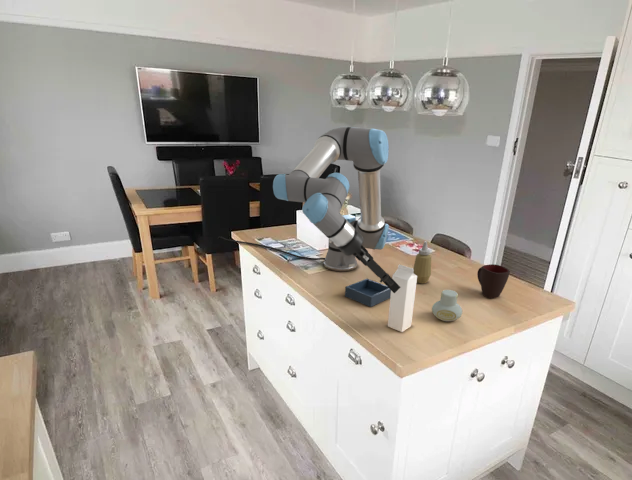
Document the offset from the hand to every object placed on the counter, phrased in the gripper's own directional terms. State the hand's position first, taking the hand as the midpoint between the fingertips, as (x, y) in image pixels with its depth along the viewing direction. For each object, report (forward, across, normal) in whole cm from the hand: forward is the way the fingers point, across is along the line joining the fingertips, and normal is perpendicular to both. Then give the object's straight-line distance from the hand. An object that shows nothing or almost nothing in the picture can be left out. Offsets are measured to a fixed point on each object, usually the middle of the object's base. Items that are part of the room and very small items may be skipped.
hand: (388, 281), depth 134 cm
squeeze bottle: (+35, -36, +10) cm, 51 cm away
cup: (+51, -18, +26) cm, 60 cm away
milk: (+16, 0, -8) cm, 18 cm away
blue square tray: (+15, -26, -10) cm, 31 cm away
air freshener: (+30, -2, +6) cm, 31 cm away
